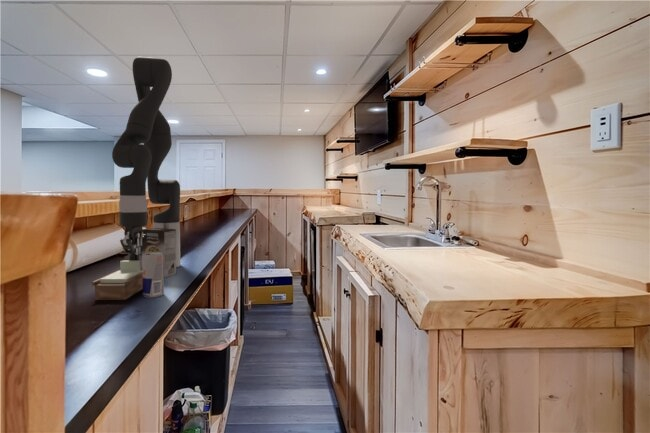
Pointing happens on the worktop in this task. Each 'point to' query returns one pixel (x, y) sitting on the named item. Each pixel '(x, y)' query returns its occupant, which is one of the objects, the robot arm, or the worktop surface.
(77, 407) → the worktop surface
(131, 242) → the robot arm
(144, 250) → the coffee box
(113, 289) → the walnut box
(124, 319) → the worktop surface
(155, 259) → the energy drink
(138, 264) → the lid
